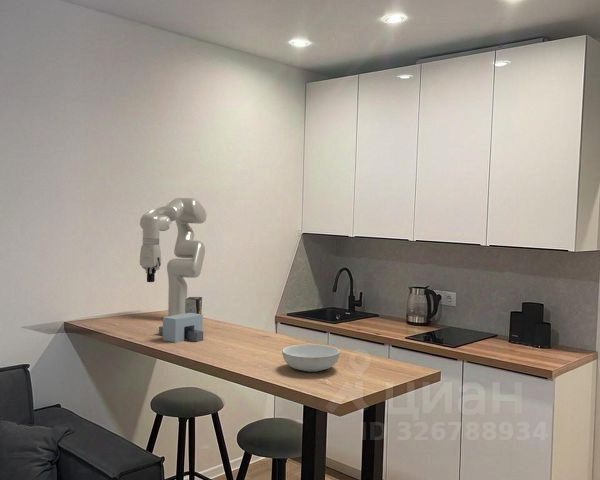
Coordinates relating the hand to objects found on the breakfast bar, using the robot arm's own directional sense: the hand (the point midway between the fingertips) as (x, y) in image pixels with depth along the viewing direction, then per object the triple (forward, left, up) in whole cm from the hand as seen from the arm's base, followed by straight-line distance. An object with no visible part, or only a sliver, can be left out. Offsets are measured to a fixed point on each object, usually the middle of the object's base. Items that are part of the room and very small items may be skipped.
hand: (150, 281), depth 272 cm
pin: (0, +20, -23) cm, 31 cm away
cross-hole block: (+1, +23, -23) cm, 32 cm away
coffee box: (-12, +16, -23) cm, 31 cm away
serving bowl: (+6, +95, -23) cm, 98 cm away
